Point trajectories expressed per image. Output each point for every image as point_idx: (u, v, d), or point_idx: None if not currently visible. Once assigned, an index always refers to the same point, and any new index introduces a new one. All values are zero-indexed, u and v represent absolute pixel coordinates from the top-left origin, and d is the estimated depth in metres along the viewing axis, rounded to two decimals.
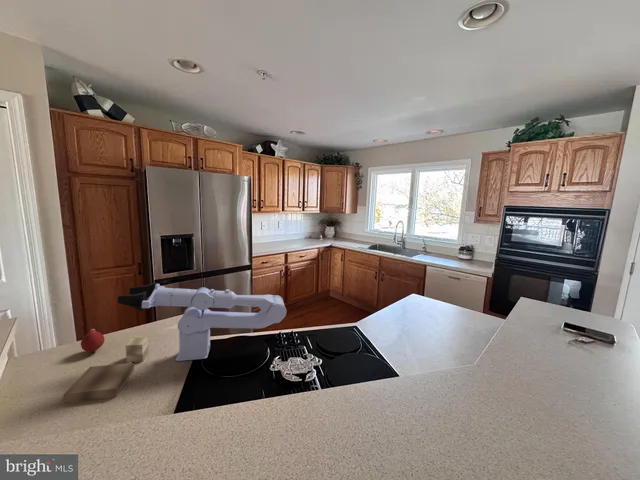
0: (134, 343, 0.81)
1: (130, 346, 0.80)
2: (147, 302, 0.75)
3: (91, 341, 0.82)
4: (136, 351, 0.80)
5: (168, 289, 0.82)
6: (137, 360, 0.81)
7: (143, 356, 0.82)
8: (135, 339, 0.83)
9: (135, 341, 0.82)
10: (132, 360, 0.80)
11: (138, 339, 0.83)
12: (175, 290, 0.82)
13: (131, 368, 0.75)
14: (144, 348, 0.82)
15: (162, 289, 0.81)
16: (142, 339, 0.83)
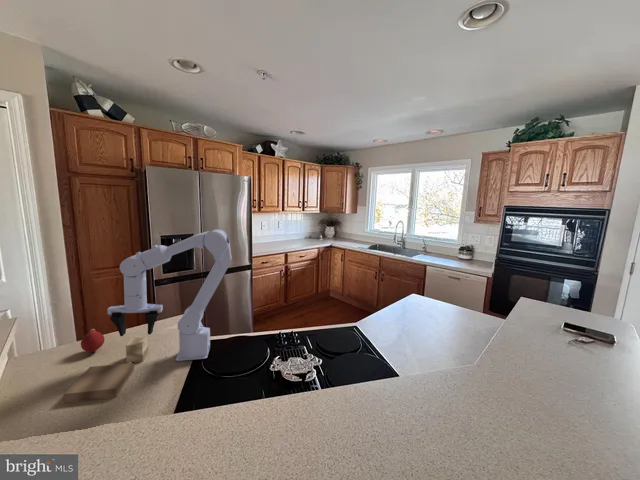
0: (134, 343, 0.81)
1: (130, 346, 0.80)
2: None
3: (91, 341, 0.82)
4: (136, 351, 0.80)
5: None
6: (137, 360, 0.81)
7: (143, 356, 0.82)
8: (135, 339, 0.83)
9: (135, 341, 0.82)
10: (132, 360, 0.80)
11: (138, 339, 0.83)
12: (124, 292, 0.78)
13: (131, 368, 0.75)
14: (144, 348, 0.82)
15: None
16: (142, 339, 0.83)
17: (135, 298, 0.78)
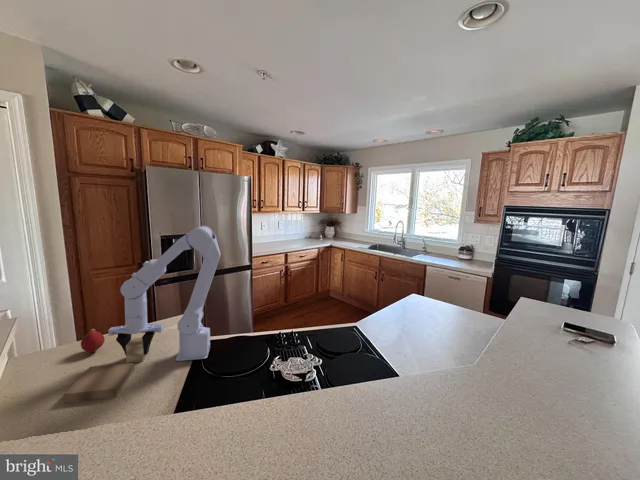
0: (134, 342, 0.81)
1: (130, 346, 0.80)
2: None
3: (91, 341, 0.82)
4: (136, 351, 0.80)
5: None
6: (137, 360, 0.81)
7: (143, 356, 0.82)
8: (135, 339, 0.83)
9: (135, 341, 0.82)
10: (132, 360, 0.80)
11: (138, 339, 0.83)
12: (125, 313, 0.79)
13: (131, 368, 0.75)
14: None
15: None
16: (142, 339, 0.83)
17: (136, 319, 0.79)
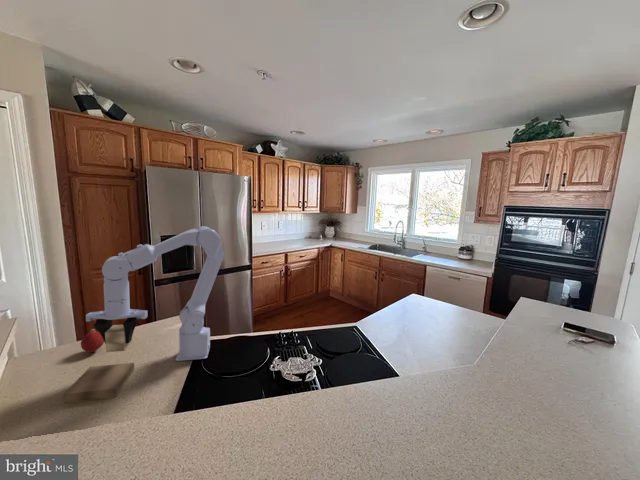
0: (115, 330, 0.73)
1: (109, 333, 0.72)
2: None
3: (91, 341, 0.82)
4: (117, 338, 0.73)
5: None
6: (118, 349, 0.73)
7: (125, 344, 0.74)
8: (116, 326, 0.75)
9: (116, 328, 0.74)
10: (112, 349, 0.73)
11: (120, 326, 0.76)
12: (104, 298, 0.71)
13: (131, 368, 0.75)
14: None
15: None
16: None
17: (116, 303, 0.71)
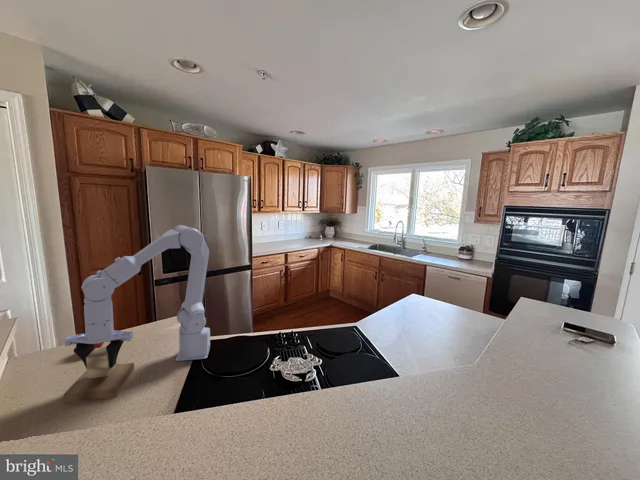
0: (97, 354, 0.68)
1: (91, 358, 0.67)
2: None
3: None
4: (99, 363, 0.67)
5: None
6: (101, 374, 0.68)
7: (109, 369, 0.69)
8: (99, 349, 0.70)
9: (98, 352, 0.69)
10: (94, 374, 0.67)
11: (103, 349, 0.70)
12: (86, 321, 0.65)
13: (131, 368, 0.75)
14: None
15: None
16: None
17: (98, 326, 0.66)
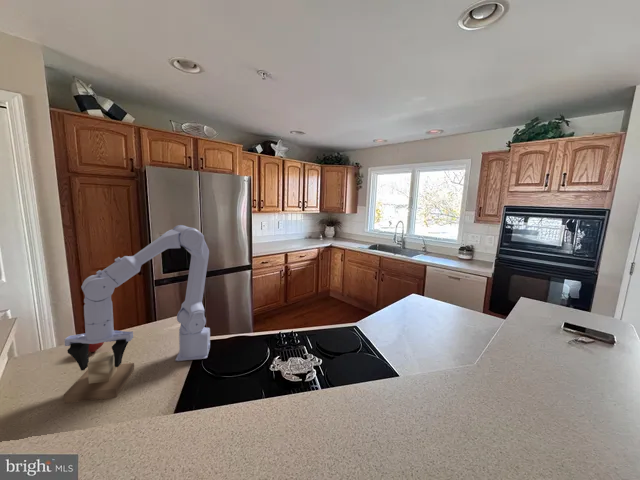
0: (99, 359, 0.68)
1: (92, 363, 0.67)
2: None
3: None
4: (100, 368, 0.68)
5: None
6: (102, 379, 0.68)
7: (110, 374, 0.69)
8: (100, 354, 0.70)
9: (100, 357, 0.69)
10: (96, 380, 0.68)
11: (104, 354, 0.71)
12: (86, 321, 0.65)
13: (131, 368, 0.75)
14: (111, 365, 0.69)
15: None
16: (109, 354, 0.71)
17: (98, 326, 0.66)
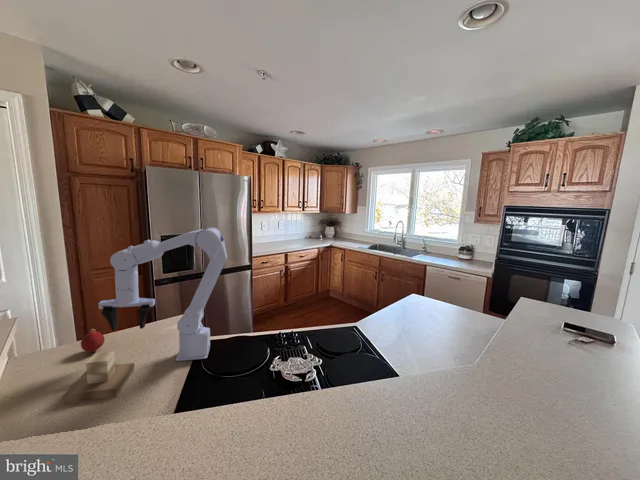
0: (97, 359, 0.68)
1: (91, 364, 0.67)
2: None
3: (91, 341, 0.82)
4: (99, 369, 0.68)
5: None
6: (101, 380, 0.68)
7: (109, 374, 0.69)
8: (99, 354, 0.70)
9: (98, 357, 0.69)
10: (94, 380, 0.68)
11: (103, 354, 0.70)
12: None
13: (131, 368, 0.75)
14: (109, 365, 0.69)
15: None
16: (107, 354, 0.70)
17: (127, 292, 0.77)
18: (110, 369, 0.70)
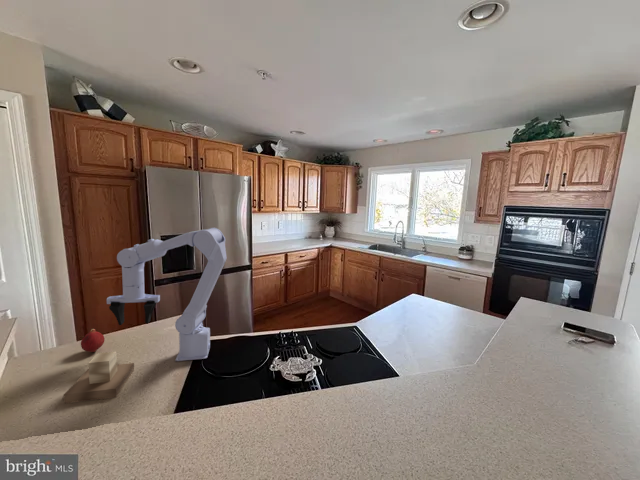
0: (99, 359, 0.68)
1: (93, 364, 0.67)
2: None
3: (91, 341, 0.82)
4: (101, 369, 0.68)
5: None
6: (103, 380, 0.68)
7: (111, 374, 0.69)
8: (101, 354, 0.70)
9: (100, 357, 0.69)
10: (97, 380, 0.68)
11: (105, 354, 0.70)
12: None
13: (131, 368, 0.75)
14: (111, 365, 0.69)
15: None
16: (109, 354, 0.71)
17: (133, 288, 0.81)
18: (112, 369, 0.70)
